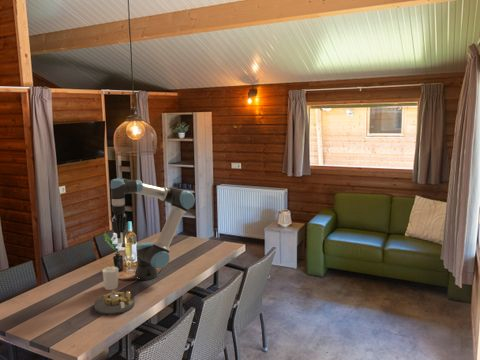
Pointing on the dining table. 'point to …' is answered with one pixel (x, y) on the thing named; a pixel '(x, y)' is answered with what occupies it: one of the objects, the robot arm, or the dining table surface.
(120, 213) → the robot arm
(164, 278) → the dining table surface
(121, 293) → the brass lugged wrench
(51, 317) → the dining table surface
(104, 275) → the candle holder
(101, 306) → the bearing cap
